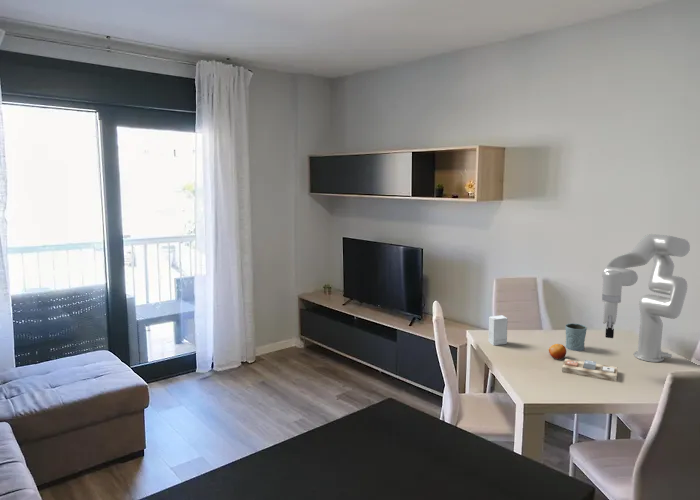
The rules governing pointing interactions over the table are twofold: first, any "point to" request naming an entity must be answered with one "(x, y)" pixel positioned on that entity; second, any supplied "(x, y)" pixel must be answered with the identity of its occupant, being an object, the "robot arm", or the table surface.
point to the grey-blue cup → (575, 336)
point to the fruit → (557, 351)
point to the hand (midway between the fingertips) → (609, 337)
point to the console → (590, 371)
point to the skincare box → (498, 330)
